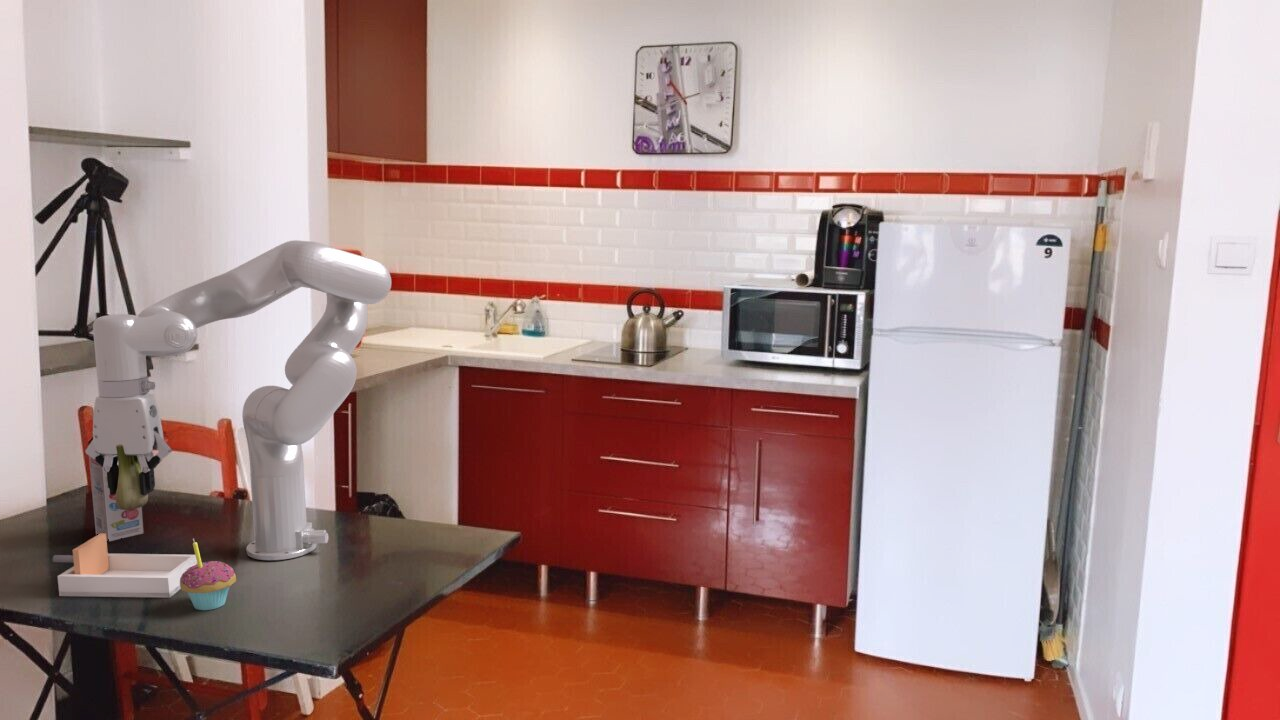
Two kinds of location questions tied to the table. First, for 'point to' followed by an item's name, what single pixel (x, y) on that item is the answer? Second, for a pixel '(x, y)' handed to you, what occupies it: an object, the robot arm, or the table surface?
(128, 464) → the fennel bulb
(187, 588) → the cupcake
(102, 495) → the juice carton
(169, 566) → the white tray
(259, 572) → the table surface
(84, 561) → the pusher
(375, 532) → the table surface
